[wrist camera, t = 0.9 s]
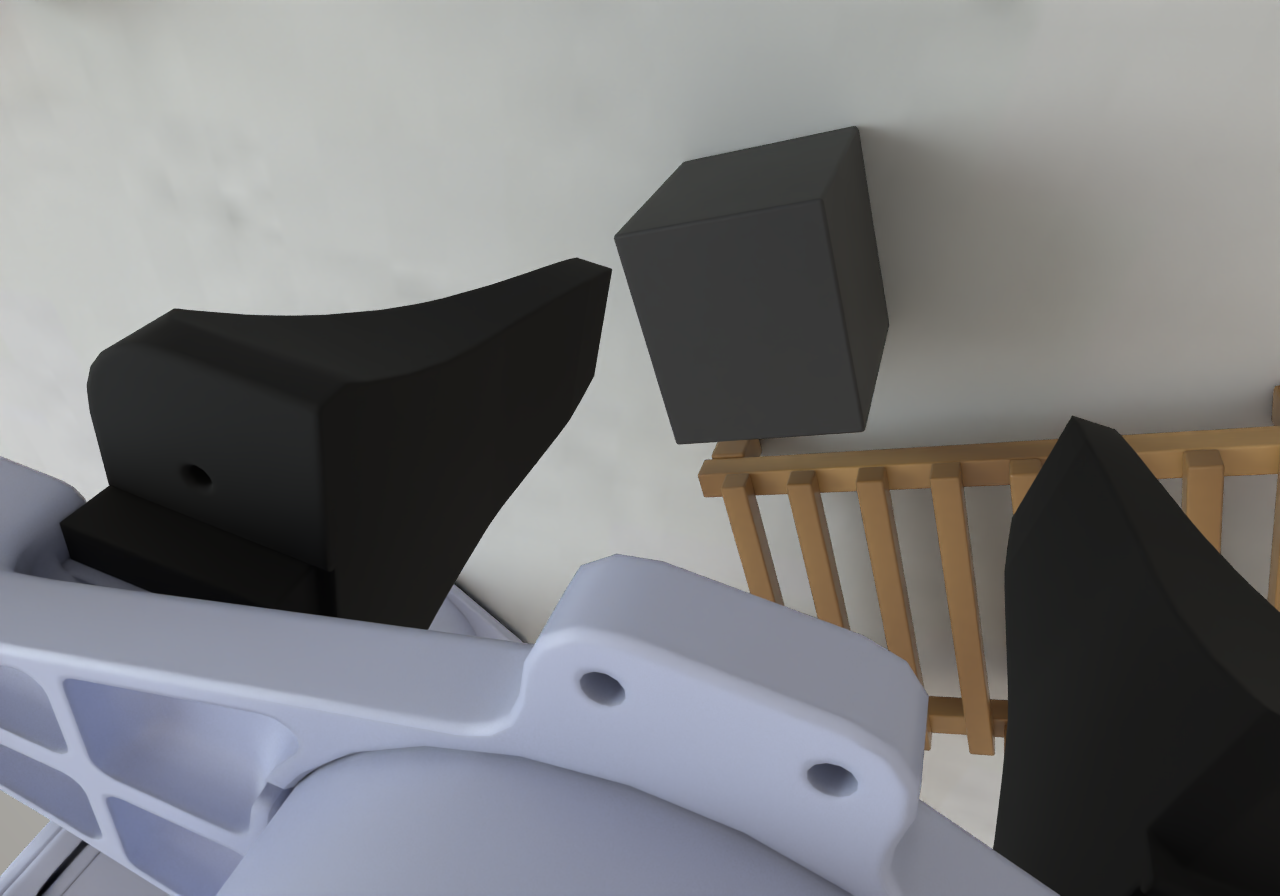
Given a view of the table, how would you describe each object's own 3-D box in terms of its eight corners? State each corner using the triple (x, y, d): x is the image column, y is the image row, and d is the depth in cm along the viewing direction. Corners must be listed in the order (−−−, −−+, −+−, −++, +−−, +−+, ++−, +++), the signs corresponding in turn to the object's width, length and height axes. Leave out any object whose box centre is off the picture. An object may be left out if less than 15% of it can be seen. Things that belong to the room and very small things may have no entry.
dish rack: (784, 670, 31) (749, 807, 27) (717, 426, 27) (661, 544, 22) (1300, 693, 25) (1362, 874, 21) (1336, 379, 20) (1425, 531, 16)
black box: (729, 344, 25) (676, 445, 21) (682, 161, 22) (611, 236, 18) (889, 326, 23) (865, 433, 19) (858, 124, 21) (822, 198, 17)
